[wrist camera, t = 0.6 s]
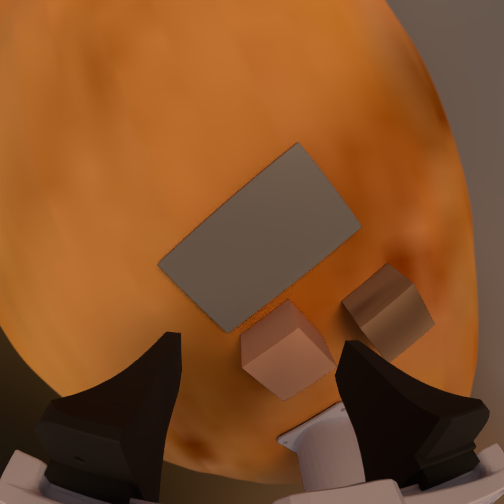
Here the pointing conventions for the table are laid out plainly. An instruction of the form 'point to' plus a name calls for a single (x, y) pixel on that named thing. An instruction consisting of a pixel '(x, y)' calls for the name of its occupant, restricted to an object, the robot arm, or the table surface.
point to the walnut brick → (389, 312)
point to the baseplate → (261, 239)
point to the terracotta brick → (285, 352)
